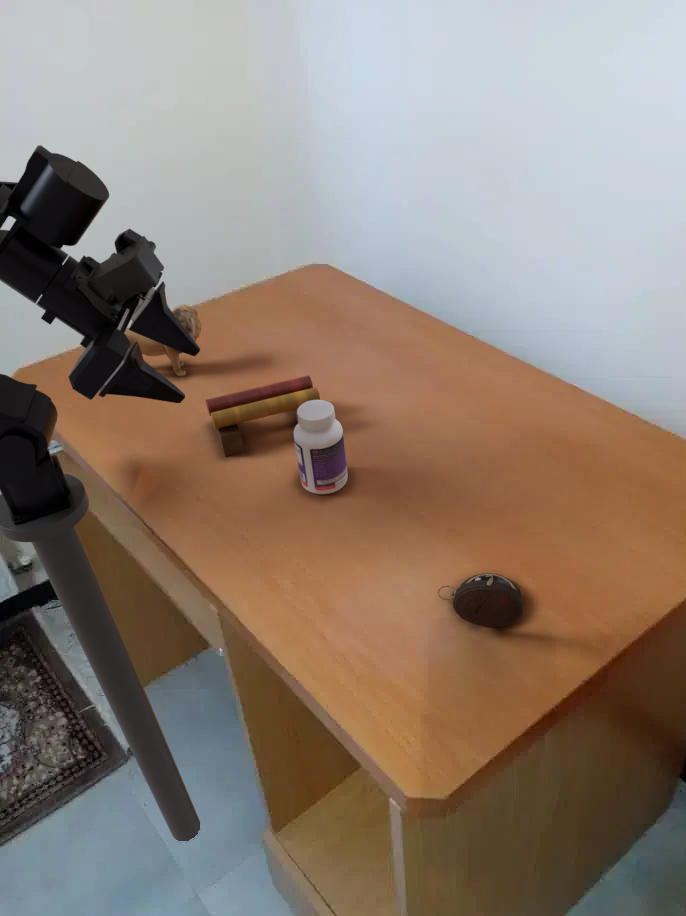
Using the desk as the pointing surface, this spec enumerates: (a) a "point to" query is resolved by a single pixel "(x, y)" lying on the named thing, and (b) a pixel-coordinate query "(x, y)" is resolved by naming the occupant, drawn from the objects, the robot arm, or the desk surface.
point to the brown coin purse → (487, 600)
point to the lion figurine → (153, 348)
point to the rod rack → (256, 408)
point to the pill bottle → (320, 448)
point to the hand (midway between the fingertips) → (190, 375)
